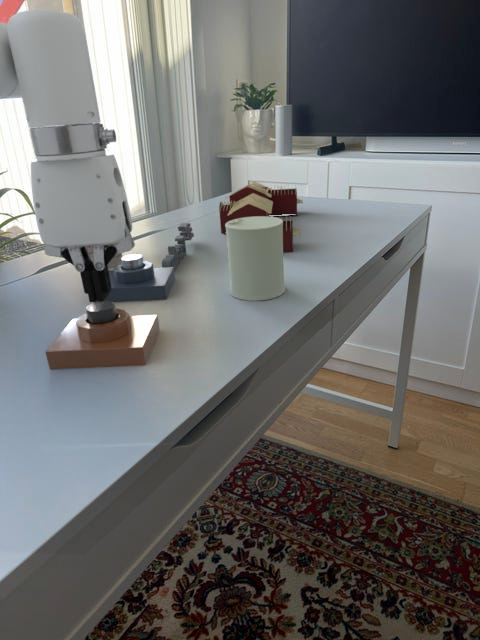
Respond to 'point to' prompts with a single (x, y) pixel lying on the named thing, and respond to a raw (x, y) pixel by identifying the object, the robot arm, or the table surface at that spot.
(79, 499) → the table surface
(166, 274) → the blue socket base
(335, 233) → the table surface
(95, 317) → the dark grey push button
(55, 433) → the table surface
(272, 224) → the can
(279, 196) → the toy houses
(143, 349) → the orange push button base
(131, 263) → the silver push button
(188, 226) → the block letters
